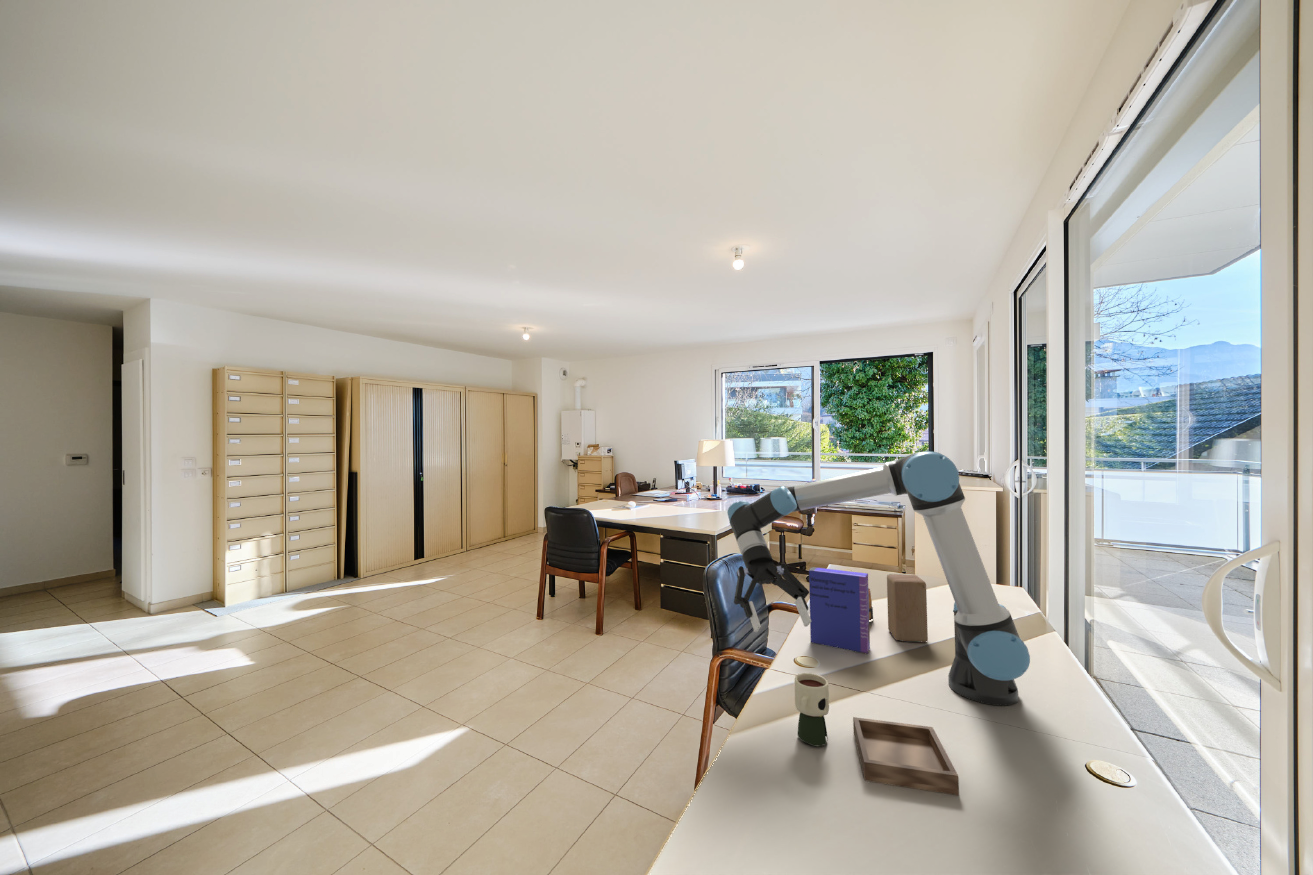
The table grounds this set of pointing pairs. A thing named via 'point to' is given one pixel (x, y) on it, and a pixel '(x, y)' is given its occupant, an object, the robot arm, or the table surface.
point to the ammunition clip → (870, 606)
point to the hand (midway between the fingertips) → (783, 626)
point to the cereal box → (839, 609)
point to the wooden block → (907, 607)
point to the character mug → (812, 707)
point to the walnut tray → (904, 756)
